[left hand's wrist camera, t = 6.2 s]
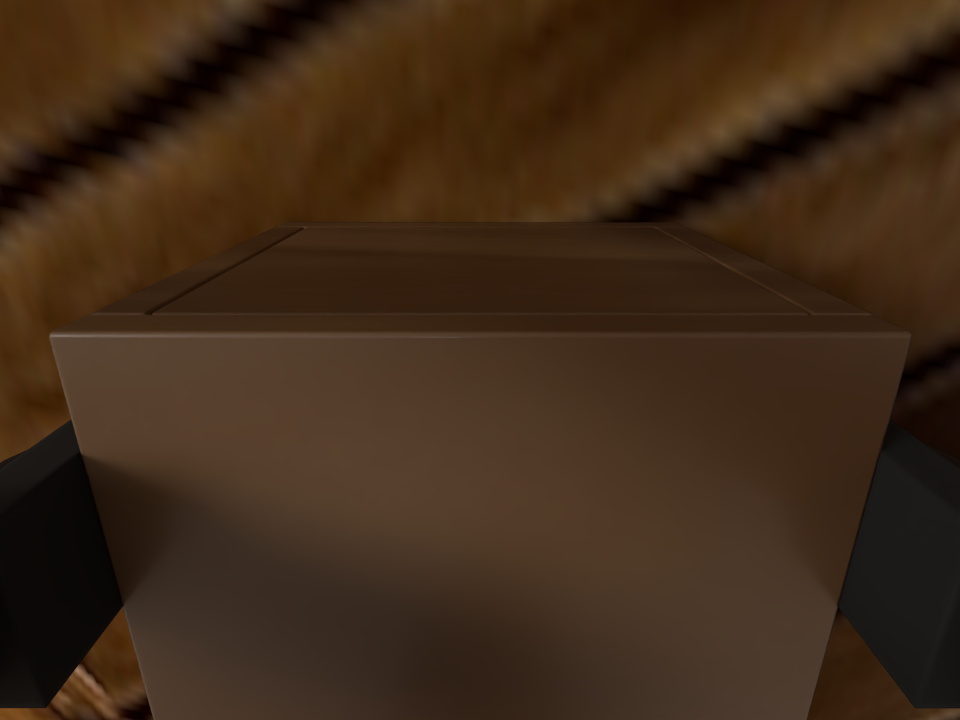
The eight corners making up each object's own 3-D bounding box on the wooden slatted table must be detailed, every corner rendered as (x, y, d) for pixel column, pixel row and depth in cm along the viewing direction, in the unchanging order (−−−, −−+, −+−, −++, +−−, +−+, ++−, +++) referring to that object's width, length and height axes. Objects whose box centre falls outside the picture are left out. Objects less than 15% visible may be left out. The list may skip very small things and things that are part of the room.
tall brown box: (621, 693, 23) (714, 1061, 14) (338, 693, 23) (245, 1061, 14) (676, 222, 17) (916, 332, 7) (283, 221, 17) (43, 332, 7)
